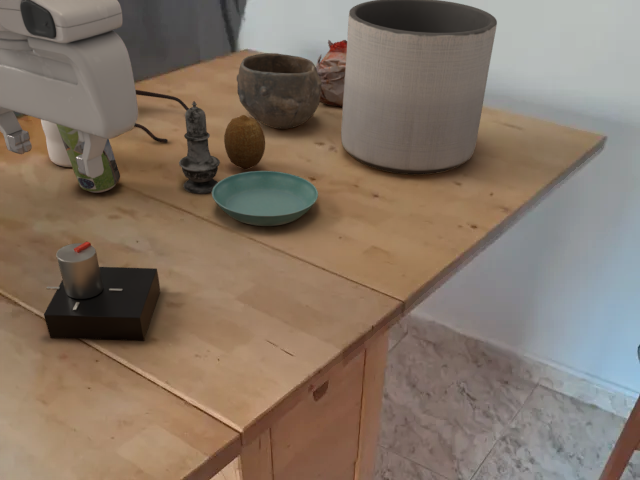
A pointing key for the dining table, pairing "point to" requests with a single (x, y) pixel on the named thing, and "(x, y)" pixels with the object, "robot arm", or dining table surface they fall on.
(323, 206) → the dining table surface
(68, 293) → the hob knob
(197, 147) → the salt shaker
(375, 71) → the planter
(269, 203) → the saucer
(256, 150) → the fruit
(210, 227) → the dining table surface
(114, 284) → the dial base
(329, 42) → the food item
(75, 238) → the dining table surface
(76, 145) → the beverage can
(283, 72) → the bowl
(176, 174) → the dining table surface
